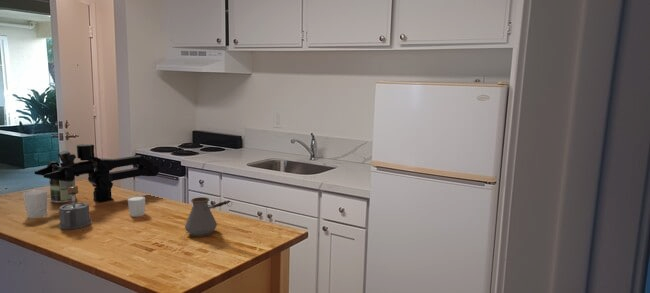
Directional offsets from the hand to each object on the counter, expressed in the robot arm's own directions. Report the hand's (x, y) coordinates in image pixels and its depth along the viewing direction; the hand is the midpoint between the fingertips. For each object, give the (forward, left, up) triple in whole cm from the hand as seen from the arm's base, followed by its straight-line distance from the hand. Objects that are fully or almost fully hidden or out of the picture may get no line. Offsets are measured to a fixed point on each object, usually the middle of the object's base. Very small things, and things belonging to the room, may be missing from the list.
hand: (39, 174), depth 181 cm
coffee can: (-14, -15, -17) cm, 27 cm away
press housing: (-2, +25, -16) cm, 30 cm away
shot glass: (-24, +31, -17) cm, 43 cm away
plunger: (-2, +25, -10) cm, 27 cm away
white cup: (+3, +2, -17) cm, 17 cm away
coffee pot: (-28, +74, -17) cm, 81 cm away
